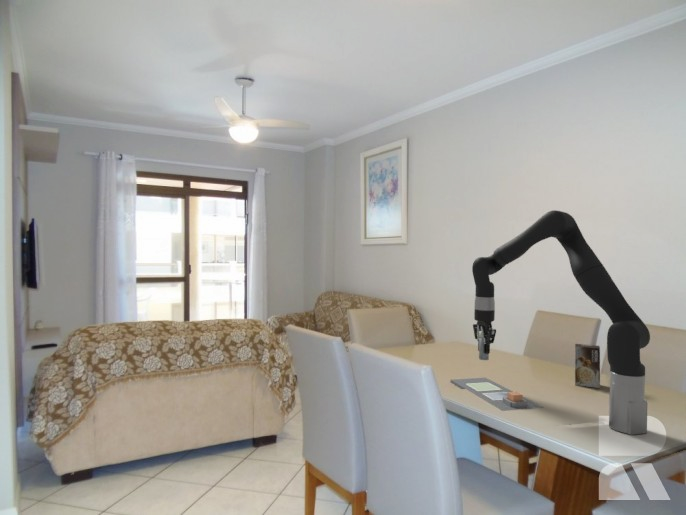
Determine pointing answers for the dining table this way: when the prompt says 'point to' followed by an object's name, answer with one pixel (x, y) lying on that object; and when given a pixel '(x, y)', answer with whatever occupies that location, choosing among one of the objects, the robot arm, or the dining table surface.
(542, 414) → the dining table surface
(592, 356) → the coffee box
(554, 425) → the dining table surface
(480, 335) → the marker
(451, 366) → the dining table surface
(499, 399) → the picture board
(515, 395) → the button
